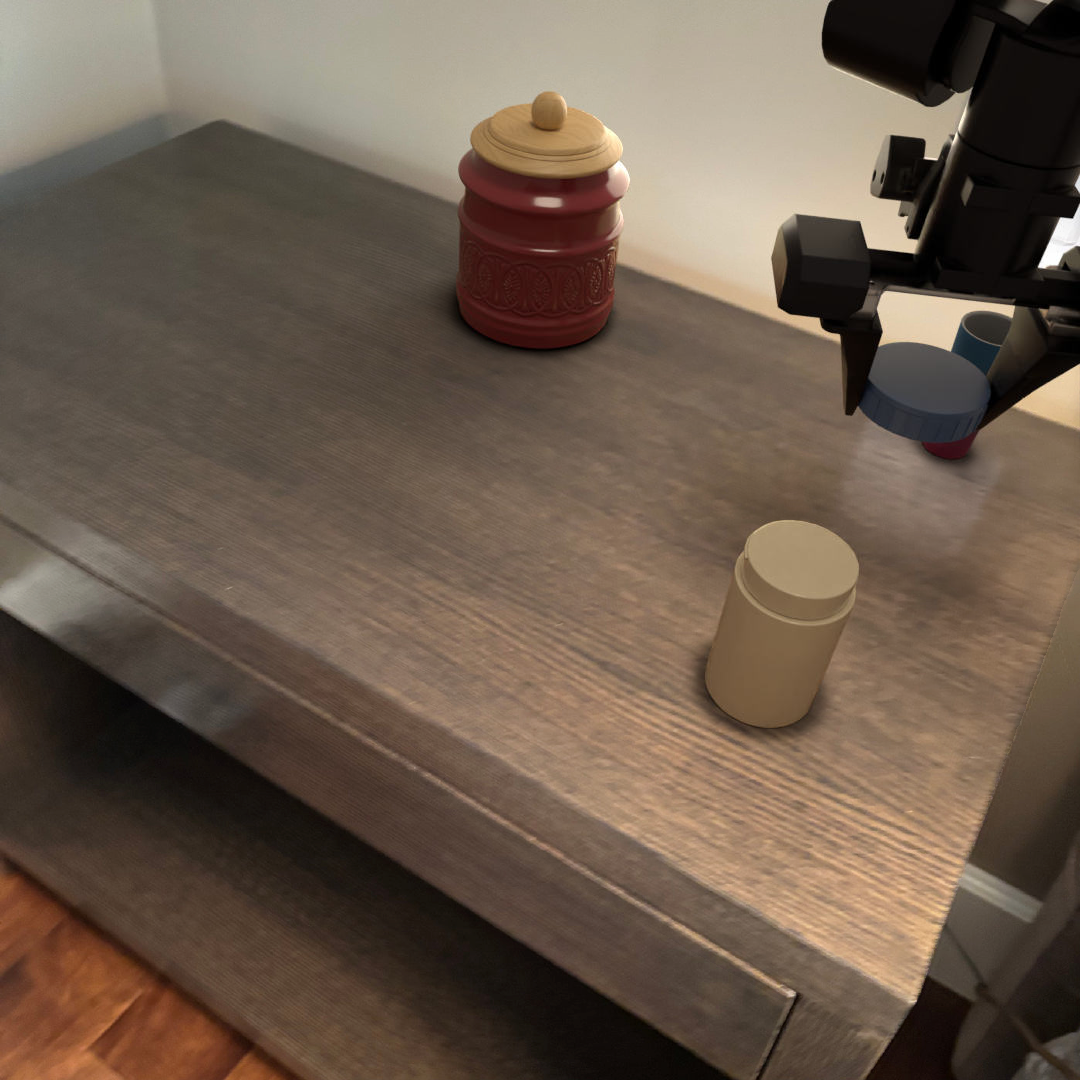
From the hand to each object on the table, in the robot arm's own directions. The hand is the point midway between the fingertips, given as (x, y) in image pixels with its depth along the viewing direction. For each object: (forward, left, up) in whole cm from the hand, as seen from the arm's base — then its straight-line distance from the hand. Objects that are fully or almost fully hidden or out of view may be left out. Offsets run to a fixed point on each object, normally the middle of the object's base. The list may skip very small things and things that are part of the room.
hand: (910, 418), depth 57 cm
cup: (-9, -15, -12) cm, 21 cm away
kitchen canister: (+23, -27, -12) cm, 37 cm away
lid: (0, 0, +2) cm, 2 cm away
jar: (+6, +10, -12) cm, 17 cm away
